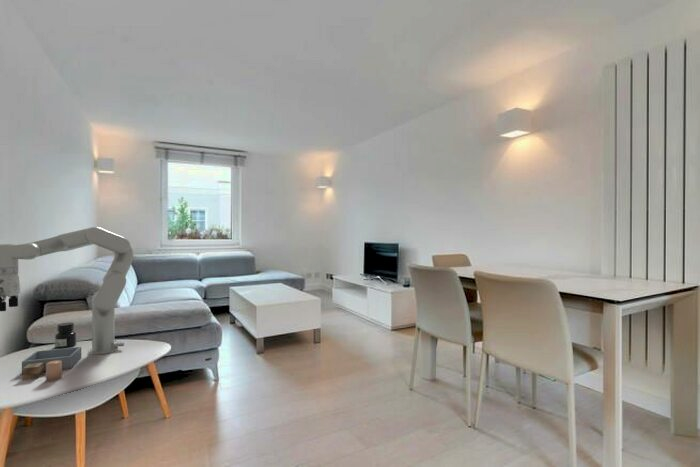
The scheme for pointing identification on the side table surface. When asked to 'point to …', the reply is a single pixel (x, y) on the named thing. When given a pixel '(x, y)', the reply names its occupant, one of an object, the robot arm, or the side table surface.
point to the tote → (55, 357)
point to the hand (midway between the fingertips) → (7, 308)
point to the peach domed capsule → (53, 370)
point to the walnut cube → (32, 371)
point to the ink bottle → (65, 335)
